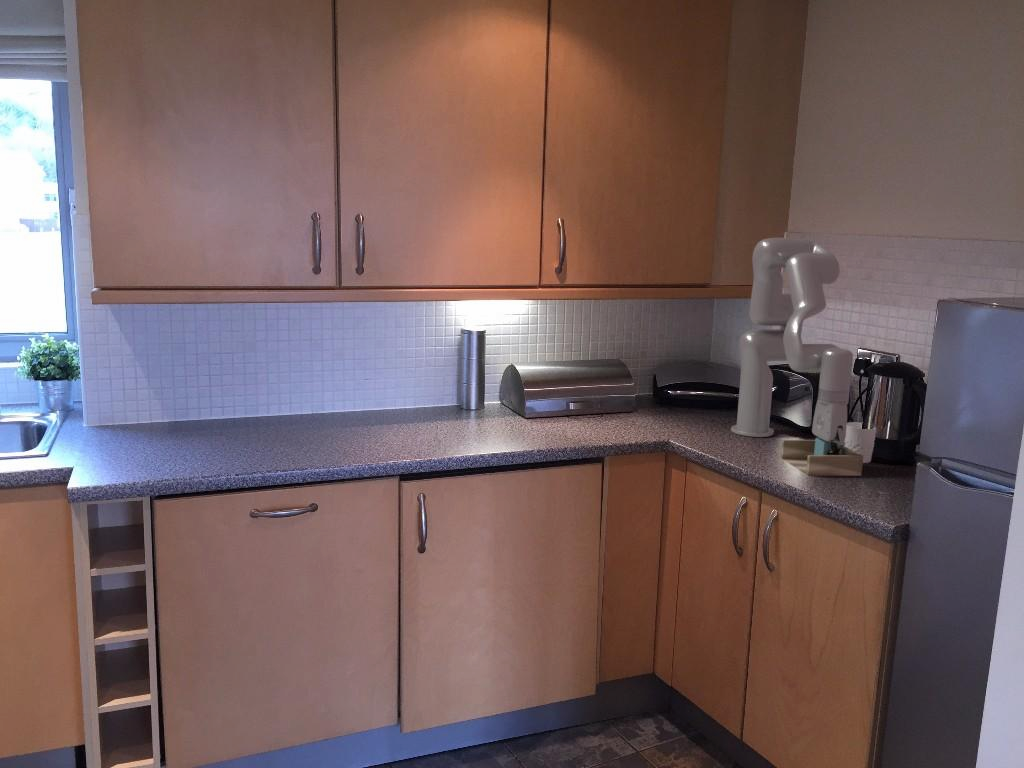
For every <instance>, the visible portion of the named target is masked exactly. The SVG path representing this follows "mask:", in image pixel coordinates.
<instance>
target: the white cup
mask: <svg viewBox="0 0 1024 768" xmlns="http://www.w3.org/2000/svg"><path fill="white" fill-rule="evenodd" d="M862 423H863V422H857V421H852V422H847V429H846V437H845V440H844V441H845V445H844V446H845V447H847V448H849V449H850V450H852V451H854V452H856V453H858V454H860V455H862V456H863V464H868V463H871V461H872V458H873V457H872V456H873V455H872V454H873V451H874V447H875V442H874V441H875V440H876V435H877V429H876V428H873V429H862ZM875 434H876V435H875Z"/></svg>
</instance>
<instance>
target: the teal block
mask: <svg viewBox="0 0 1024 768" xmlns="http://www.w3.org/2000/svg"><path fill="white" fill-rule="evenodd" d="M814 440H815V449H814V455H827V452H829V447H828V444H829V443H828V442H827V441H824V440H822V439H821V438H816V437H815V439H814ZM832 441H837V439H835V438H834V439H833V440H832ZM835 444H837V443H832V445H833V446H834V445H835ZM841 454H842V449H841V452H840V454H839V455H841Z"/></svg>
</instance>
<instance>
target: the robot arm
mask: <svg viewBox="0 0 1024 768" xmlns="http://www.w3.org/2000/svg"><path fill="white" fill-rule="evenodd" d="M751 260H752V271H753V283H752V288H751V295H750V305H749V313H748V314H749V315H748V316H749V319H750V321H751V323H753V324H754V325H757V326H765V327H766V326H768V327H774V326H775V327H777V326H778V327H779V329H771V328H769V329H768V328H766V329H765V328H763V329H761V328H760V329H759V328H758V329H757V328H756V329H751V330H750V329H749V330H748V331H746V332H744V333H743V334H742V335H741V337H740V339H739V355H740V379H739V390H738V391H739V393H738V403H737V404H738V405H737V418H736V424H733V425H731V428H730V431H731V432H732V433H733V434H736V435H739V436H740V435H741V436H744V437H745V436H746V437H751V438H766V437H768V438H769V437H771V436H773V435H774V433H775V430H774V428H771V427H770V421H771V420H770V418H771V408H772V407H771V406H772V395H773V385H774V384H773V383H774V376H773V372H772V370H771V368H770V366H769V365H768V362H786V361H787V364H788V366H789V368H790V369H791V370H793V371H794V372H796V373H797V372H798V373H820V374H819V381H818V383H819V384H818V393H817V400H816V404H815V409H814V414H813V415H814V416H813V419H812V420H813V421H812V428H811V432H812V434H813V435H814V436H815V439H816V438H821V439H822V440H824V441H827V442H828V443H829V444H828V447H829V452H827V455H839V454H840V452H841V449H842V447H843V446H844V445H845V437H846V429H847V423H848V404H849V400H850V392H851V391H850V388H851V382H852V381H851V380H852V372H853V371H852V370H853V360H854V355H853V352H852V351H851V350H849V349H846V348H840V347H839V346H838V345H835V344H832V343H803V341H802V329H803V324H804V320H807V319H808V318H811V317H813V316H816V315H818V314H820V313H821V312H823V311H824V310H825V309H826V307H827V302H826V296H825V292H824V285H831V284H833V283H835V282H836V281H837V280H838V278H839V276H840V270H841V269H840V263H839V261H838V259H837V258H836V256H835V255H834V253H832V252H831V251H830V250H829V249H827V248H826V246H823V245H822V244H821V243H820V242H818V241H816V240H815V239H813V238H796V237H795V238H793V237H769V238H763V239H761V240H760V241H758V243H757V244H756V245H755V246H754V249H753V251H752V259H751ZM780 269H785V271H786V276H787V277H786V278H787V282H788V288H789V292H790V293H783V288H784V276H783V274H782V271H781V270H780ZM834 438H835V439H837V441H832V440H833V439H834ZM832 443H837V444H835V445H834V446H833V445H832Z"/></svg>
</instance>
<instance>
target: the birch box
mask: <svg viewBox="0 0 1024 768" xmlns="http://www.w3.org/2000/svg"><path fill="white" fill-rule="evenodd" d="M814 449H815V439H781V449H780V459H782V460H783V461H785V462H786V463H787V464H789V465H790V466H793V467H794V468H795V469H797V470H798V471H800V472H801V473H803V474H805V475H806V476H808V477H810V476H811V477H812V476H814V477H817V476H818V477H827V476H828V477H830V476H831V477H833V476H835V477H836V476H837V477H838V476H845V477H847V476H848V477H849V476H851V477H854V476H860V477H861V476H862V473H863V465H864V463H863V456H862V455H860V454H858V453H856V452H854V451H852V450H850V449H849V448H847V447H845V446H843V447H842V454H841V455H814Z"/></svg>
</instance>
